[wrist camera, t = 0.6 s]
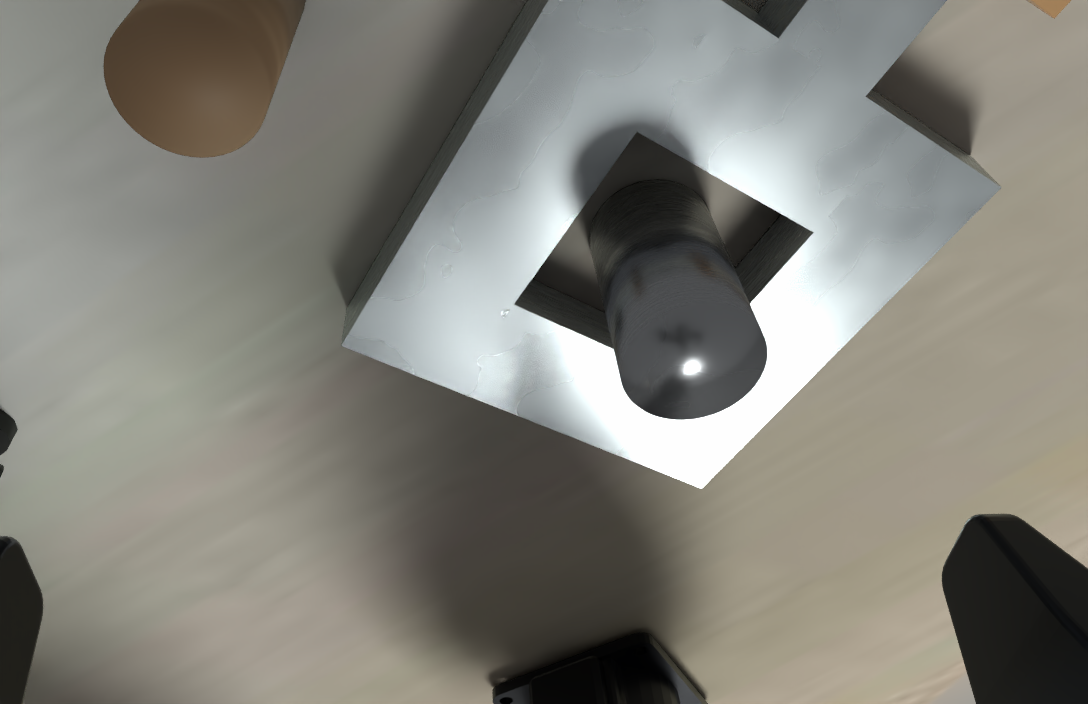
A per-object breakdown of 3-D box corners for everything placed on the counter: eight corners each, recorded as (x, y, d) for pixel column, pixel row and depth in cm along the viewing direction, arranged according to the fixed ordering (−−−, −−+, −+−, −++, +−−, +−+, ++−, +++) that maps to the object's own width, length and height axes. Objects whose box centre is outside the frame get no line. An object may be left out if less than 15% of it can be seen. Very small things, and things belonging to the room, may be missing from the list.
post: (729, 252, 23) (787, 382, 19) (620, 303, 24) (655, 439, 20) (683, 157, 21) (737, 280, 17) (567, 216, 22) (594, 346, 18)
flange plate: (690, 450, 27) (722, 559, 24) (346, 308, 23) (330, 417, 20) (1194, -77, 19) (1343, -16, 16) (797, -459, 14) (893, -479, 11)
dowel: (331, 6, 18) (300, 112, 14) (235, 65, 19) (181, 182, 15) (252, -108, 17) (194, -26, 13) (151, -41, 17) (67, 57, 14)
